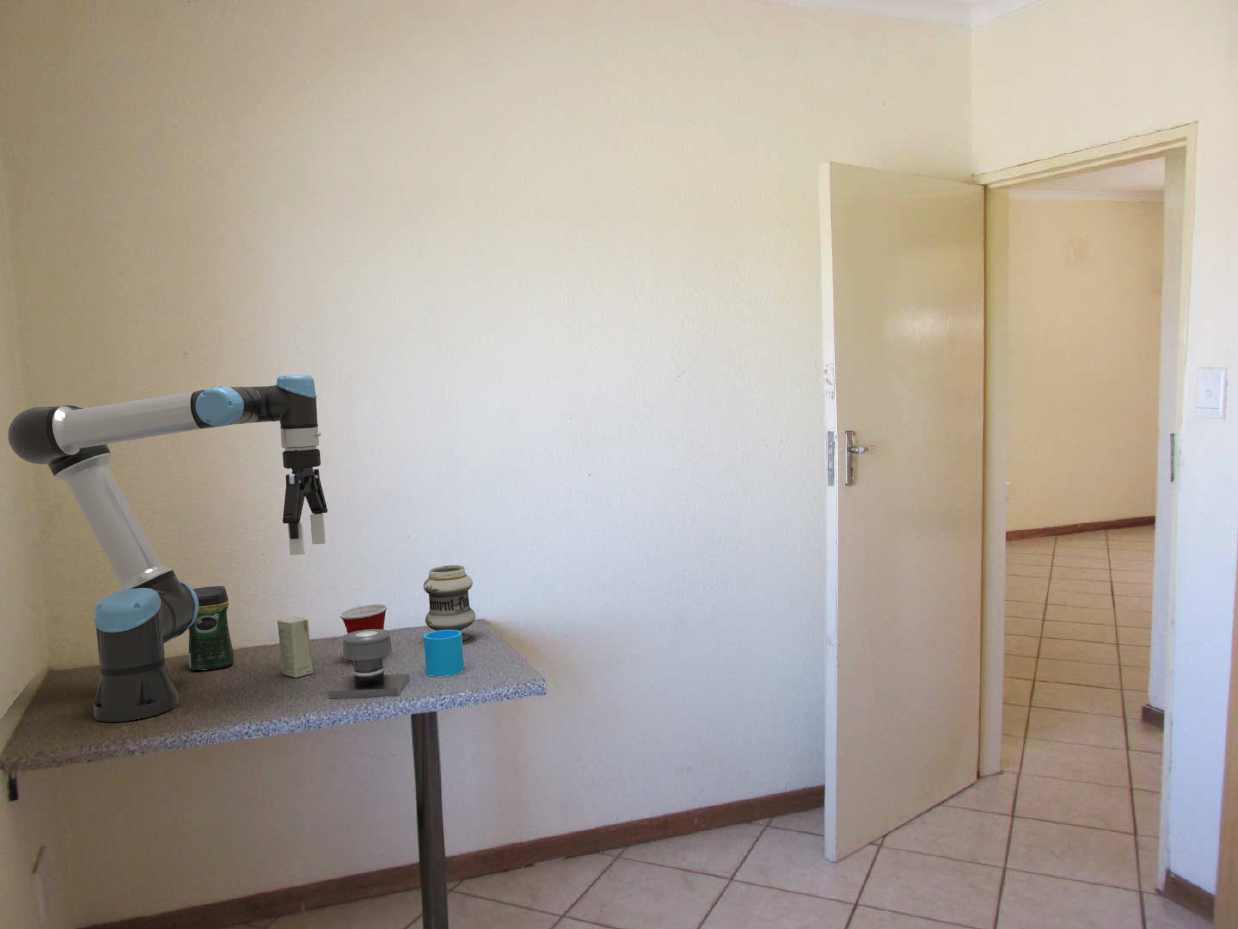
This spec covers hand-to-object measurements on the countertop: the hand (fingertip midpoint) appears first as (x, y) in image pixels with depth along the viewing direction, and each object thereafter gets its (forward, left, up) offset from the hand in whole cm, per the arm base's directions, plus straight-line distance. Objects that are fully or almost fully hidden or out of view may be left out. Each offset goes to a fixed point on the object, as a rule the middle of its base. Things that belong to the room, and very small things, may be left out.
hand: (308, 549), depth 206 cm
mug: (+26, +6, -29) cm, 39 cm away
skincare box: (-7, +7, -29) cm, 31 cm away
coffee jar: (-30, +16, -29) cm, 45 cm away
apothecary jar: (+23, +30, -29) cm, 48 cm away
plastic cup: (+6, +16, -29) cm, 34 cm away
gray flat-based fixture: (+13, -7, -29) cm, 32 cm away
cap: (+13, -7, -21) cm, 26 cm away
